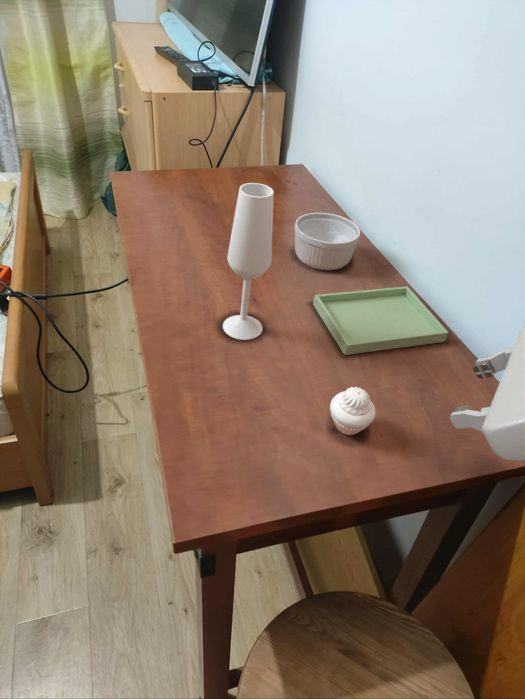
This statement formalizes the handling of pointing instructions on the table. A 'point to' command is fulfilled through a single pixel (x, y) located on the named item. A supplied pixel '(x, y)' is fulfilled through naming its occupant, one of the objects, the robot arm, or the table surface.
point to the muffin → (352, 410)
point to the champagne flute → (250, 251)
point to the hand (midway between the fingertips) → (465, 392)
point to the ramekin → (325, 240)
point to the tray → (378, 320)
